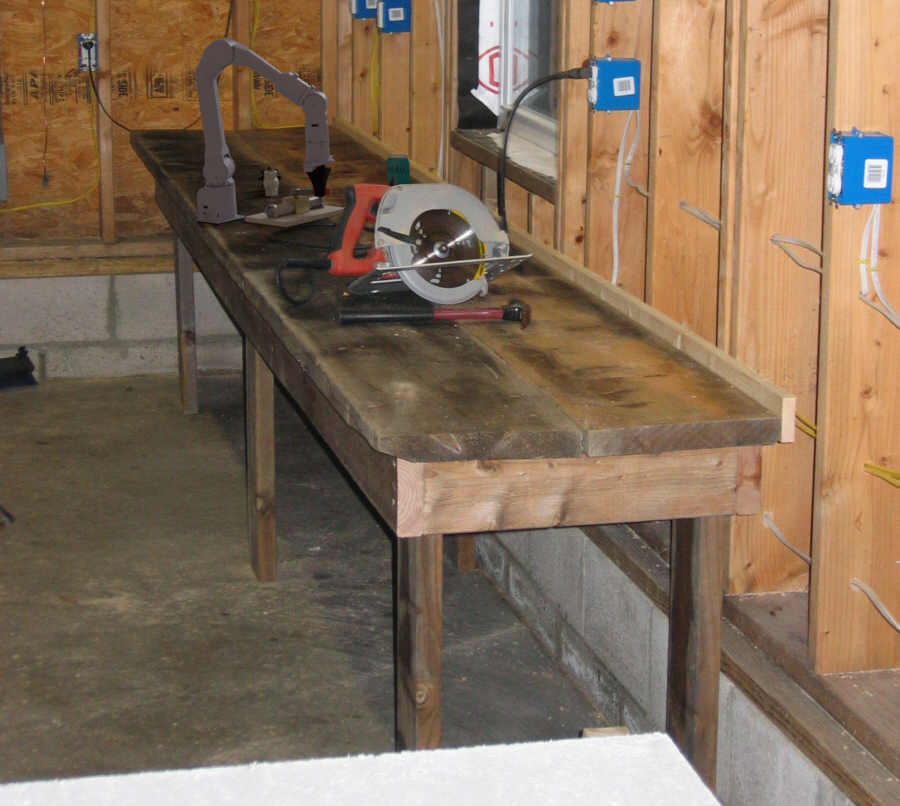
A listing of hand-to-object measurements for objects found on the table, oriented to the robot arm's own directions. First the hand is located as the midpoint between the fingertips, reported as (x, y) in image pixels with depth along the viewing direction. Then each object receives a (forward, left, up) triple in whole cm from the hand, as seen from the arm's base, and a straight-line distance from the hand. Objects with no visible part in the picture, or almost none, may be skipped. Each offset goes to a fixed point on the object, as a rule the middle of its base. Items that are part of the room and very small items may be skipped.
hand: (319, 196), depth 352 cm
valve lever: (0, +3, 0) cm, 3 cm away
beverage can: (+12, -16, -6) cm, 20 cm away
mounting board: (-2, +6, -5) cm, 9 cm away
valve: (+21, +38, -6) cm, 44 cm away
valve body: (-2, +6, -5) cm, 9 cm away
